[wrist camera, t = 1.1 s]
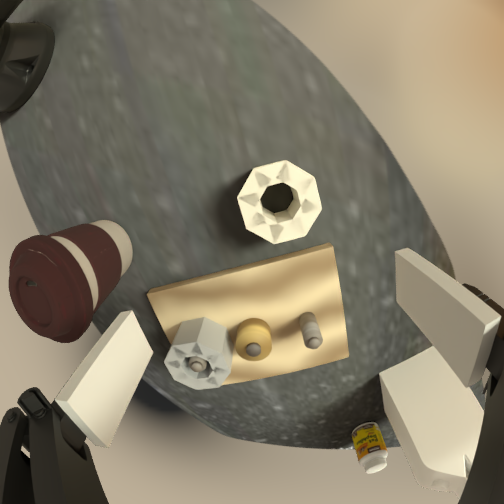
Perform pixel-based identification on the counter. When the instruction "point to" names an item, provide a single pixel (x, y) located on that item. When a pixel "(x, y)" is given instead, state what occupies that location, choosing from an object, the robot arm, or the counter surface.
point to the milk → (433, 420)
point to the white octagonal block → (284, 222)
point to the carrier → (265, 312)
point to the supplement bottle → (370, 447)
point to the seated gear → (200, 353)
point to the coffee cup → (67, 277)
